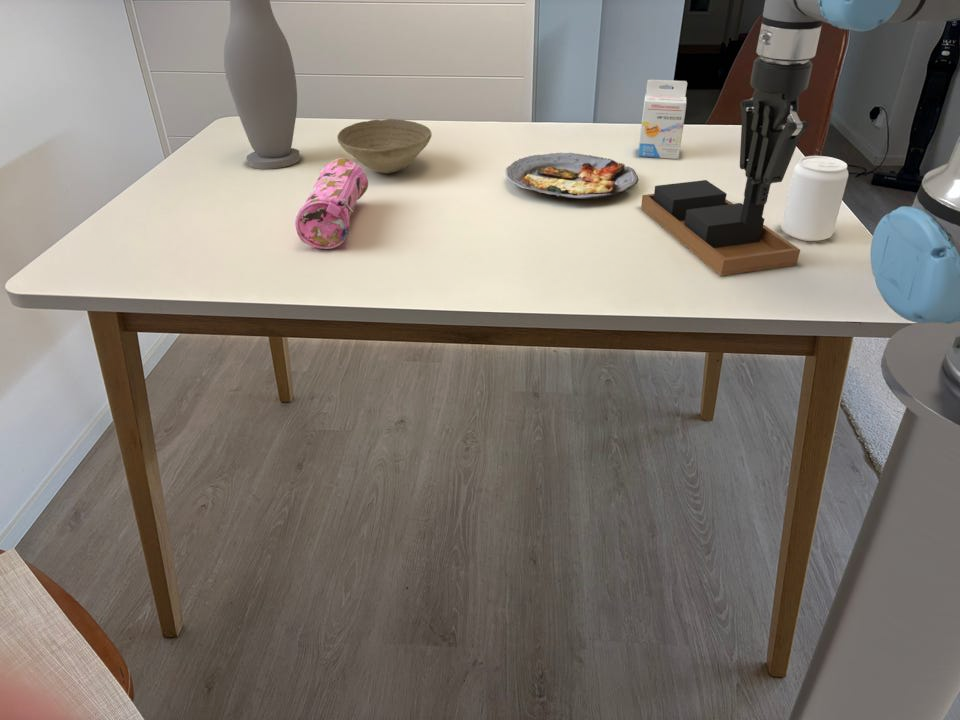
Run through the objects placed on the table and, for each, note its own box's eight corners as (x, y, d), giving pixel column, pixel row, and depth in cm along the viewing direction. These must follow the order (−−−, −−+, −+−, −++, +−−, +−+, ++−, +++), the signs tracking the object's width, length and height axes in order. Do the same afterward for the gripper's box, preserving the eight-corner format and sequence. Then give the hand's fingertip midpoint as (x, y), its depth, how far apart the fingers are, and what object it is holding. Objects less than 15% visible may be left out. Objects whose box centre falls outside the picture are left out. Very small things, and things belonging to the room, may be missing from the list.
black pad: (759, 241, 122) (764, 218, 119) (704, 249, 119) (708, 226, 117) (736, 225, 127) (740, 202, 125) (683, 232, 125) (686, 209, 123)
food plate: (651, 175, 150) (653, 157, 148) (613, 216, 133) (615, 197, 131) (536, 157, 159) (536, 140, 157) (486, 193, 142) (486, 175, 140)
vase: (247, 175, 152) (211, -17, 133) (237, 156, 162) (203, -25, 143) (312, 166, 156) (286, -22, 137) (298, 148, 166) (273, -29, 147)
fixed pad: (723, 215, 131) (726, 193, 129) (670, 222, 129) (673, 199, 126) (702, 201, 136) (706, 179, 134) (652, 207, 134) (654, 185, 132)
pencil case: (354, 252, 122) (348, 200, 117) (296, 252, 122) (288, 200, 117) (371, 202, 139) (367, 155, 134) (322, 202, 140) (315, 155, 135)
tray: (797, 265, 116) (800, 249, 114) (720, 276, 113) (723, 260, 112) (706, 200, 138) (708, 187, 137) (640, 208, 135) (642, 194, 134)
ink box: (637, 157, 159) (645, 84, 151) (638, 149, 163) (646, 79, 155) (679, 159, 157) (689, 86, 149) (678, 152, 161) (688, 80, 153)
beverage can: (774, 223, 129) (789, 154, 122) (822, 223, 129) (840, 154, 122) (788, 243, 122) (805, 171, 116) (839, 243, 122) (858, 171, 115)
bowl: (415, 190, 144) (412, 149, 140) (326, 182, 148) (321, 142, 144) (444, 159, 159) (442, 121, 154) (363, 153, 163) (359, 116, 159)
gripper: (733, 50, 106) (706, 207, 119) (788, 71, 96) (752, 241, 109) (780, 46, 108) (748, 202, 121) (839, 67, 97) (797, 235, 110)
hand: (750, 221), depth 115 cm, fingers closed
